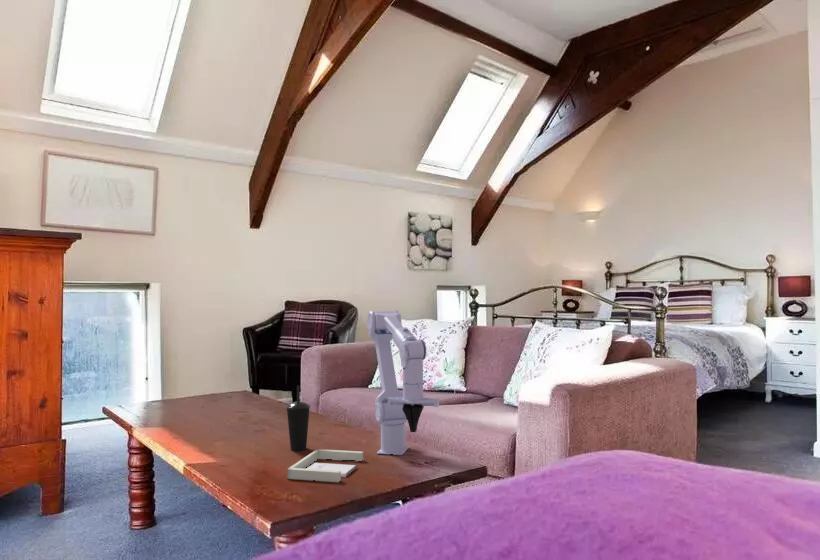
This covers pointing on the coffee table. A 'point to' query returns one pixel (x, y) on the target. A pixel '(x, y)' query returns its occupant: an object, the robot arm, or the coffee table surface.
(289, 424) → the drinking cup
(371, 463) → the coffee table surface
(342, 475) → the external hard drive
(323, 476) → the open u-shaped rail
